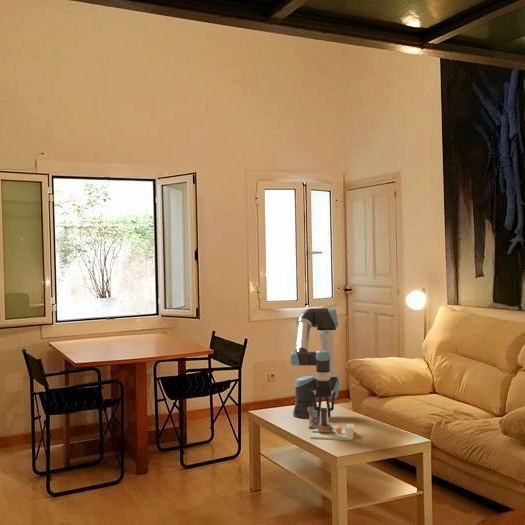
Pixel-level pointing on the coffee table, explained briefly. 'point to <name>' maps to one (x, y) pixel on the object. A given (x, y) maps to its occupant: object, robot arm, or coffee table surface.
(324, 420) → the kicker
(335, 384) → the robot arm
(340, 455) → the coffee table surface
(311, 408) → the mug
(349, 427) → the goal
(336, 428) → the ball
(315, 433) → the pitch
